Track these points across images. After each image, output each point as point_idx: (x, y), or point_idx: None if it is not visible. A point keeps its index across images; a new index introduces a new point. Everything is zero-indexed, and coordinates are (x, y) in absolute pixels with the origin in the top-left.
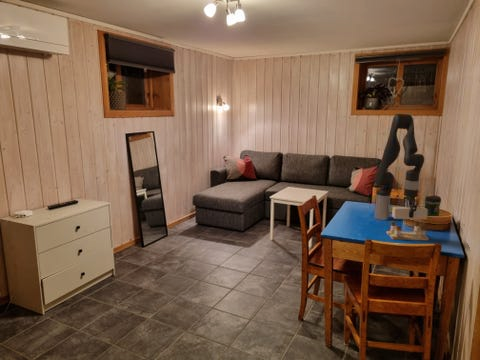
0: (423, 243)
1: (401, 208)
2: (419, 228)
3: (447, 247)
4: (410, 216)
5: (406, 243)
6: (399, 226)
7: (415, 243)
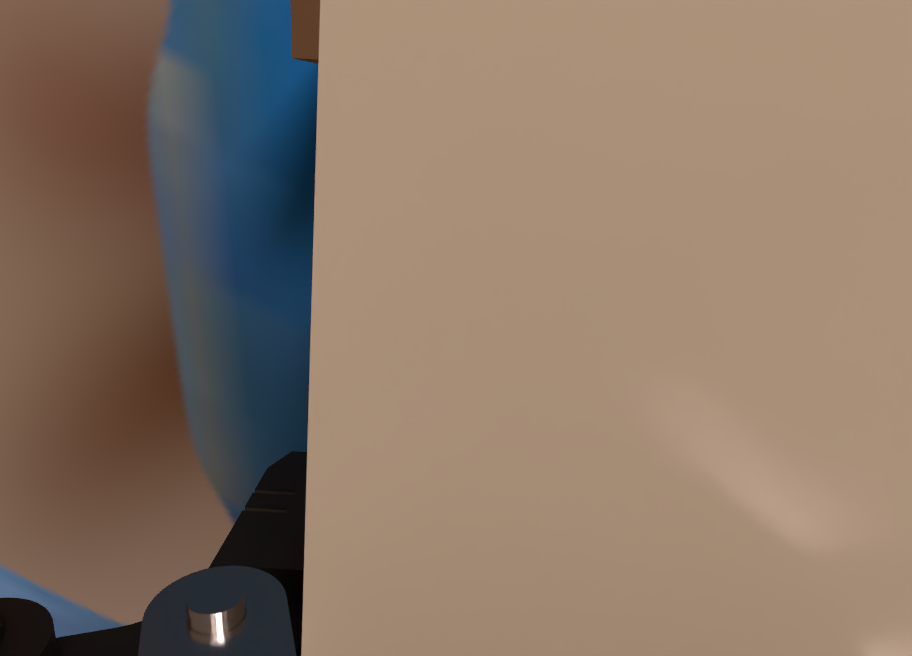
0: (197, 392)
1: (452, 138)
2: None
3: (78, 624)
4: (300, 459)
5: (157, 102)
6: (294, 7)
7: (179, 265)
